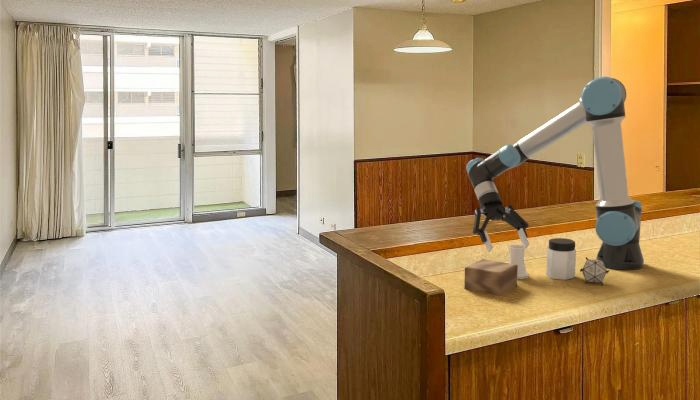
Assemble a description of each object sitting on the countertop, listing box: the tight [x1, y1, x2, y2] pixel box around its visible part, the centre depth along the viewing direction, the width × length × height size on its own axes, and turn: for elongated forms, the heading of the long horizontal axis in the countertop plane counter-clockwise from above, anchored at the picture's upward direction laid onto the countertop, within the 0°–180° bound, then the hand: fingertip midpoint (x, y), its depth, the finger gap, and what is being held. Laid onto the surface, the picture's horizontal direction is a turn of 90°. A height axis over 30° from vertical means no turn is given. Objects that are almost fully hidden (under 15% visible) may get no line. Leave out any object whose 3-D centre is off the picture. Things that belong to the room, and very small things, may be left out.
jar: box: [545, 237, 577, 281], centre depth 195 cm, size 9×8×12 cm
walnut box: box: [463, 258, 518, 297], centre depth 185 cm, size 12×12×7 cm
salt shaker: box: [508, 244, 529, 280], centre depth 196 cm, size 8×8×10 cm
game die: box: [579, 256, 610, 286], centre depth 188 cm, size 9×8×10 cm
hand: (508, 248), depth 199 cm, fingers open, 13 cm apart
